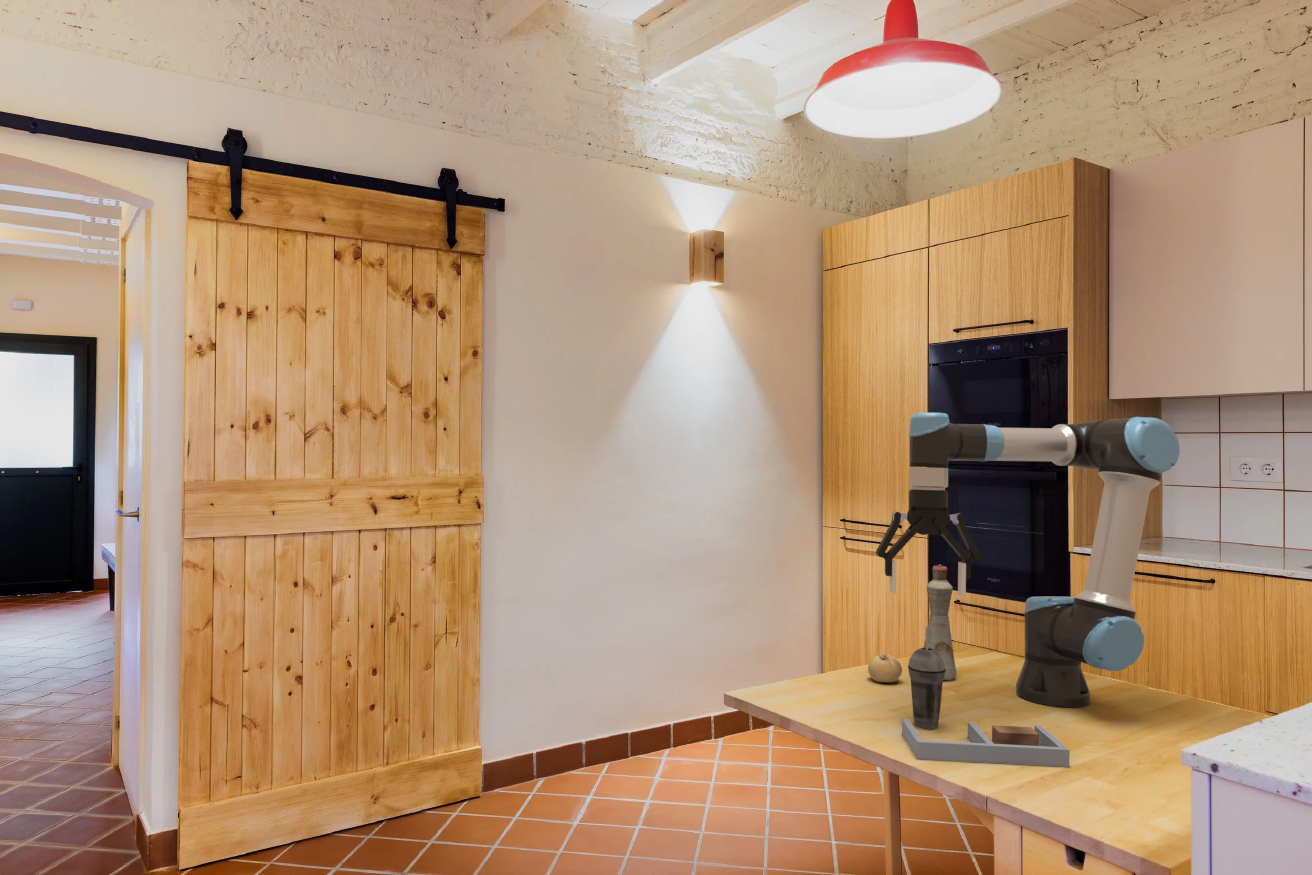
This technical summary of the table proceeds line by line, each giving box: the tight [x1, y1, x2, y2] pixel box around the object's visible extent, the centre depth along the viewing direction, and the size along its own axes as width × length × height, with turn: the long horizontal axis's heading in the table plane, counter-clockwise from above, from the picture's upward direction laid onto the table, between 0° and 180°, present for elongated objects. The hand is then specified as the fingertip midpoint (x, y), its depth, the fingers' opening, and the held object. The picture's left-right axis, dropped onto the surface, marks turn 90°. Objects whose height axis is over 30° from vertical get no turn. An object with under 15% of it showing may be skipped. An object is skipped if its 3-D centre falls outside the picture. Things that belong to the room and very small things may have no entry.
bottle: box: [923, 564, 957, 681], centre depth 199 cm, size 9×9×28 cm
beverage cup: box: [907, 626, 946, 731], centre depth 162 cm, size 7×7×20 cm
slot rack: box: [901, 718, 1070, 768], centre depth 148 cm, size 26×13×3 cm, turn 85°
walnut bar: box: [991, 724, 1039, 746], centre depth 148 cm, size 7×4×4 cm, turn 85°
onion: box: [867, 653, 903, 683], centre depth 194 cm, size 8×8×7 cm
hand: (927, 593), depth 162 cm, fingers open, 13 cm apart
